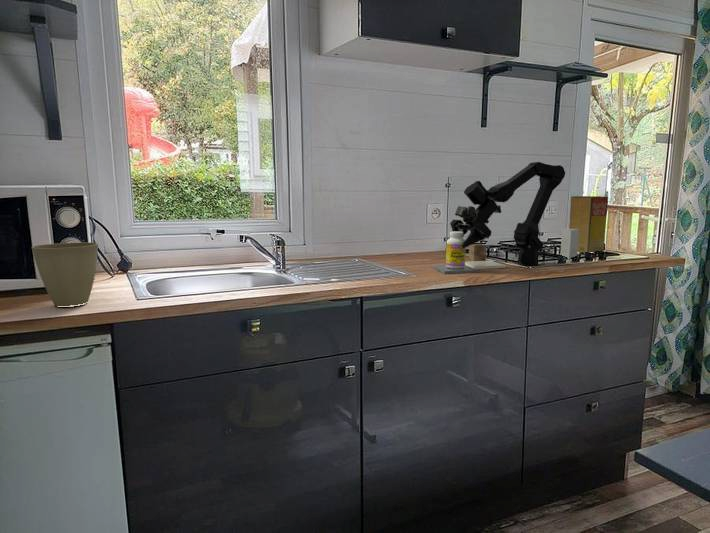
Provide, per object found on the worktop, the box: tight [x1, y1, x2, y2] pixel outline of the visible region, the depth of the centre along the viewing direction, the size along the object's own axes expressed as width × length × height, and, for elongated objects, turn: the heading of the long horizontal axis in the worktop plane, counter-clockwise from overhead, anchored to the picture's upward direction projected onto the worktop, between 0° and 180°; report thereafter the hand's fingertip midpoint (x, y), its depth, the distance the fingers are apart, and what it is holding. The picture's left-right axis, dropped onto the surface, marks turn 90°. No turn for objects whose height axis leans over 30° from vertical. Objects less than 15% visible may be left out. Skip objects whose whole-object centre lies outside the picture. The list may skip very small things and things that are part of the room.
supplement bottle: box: [445, 231, 466, 269], centre depth 175 cm, size 7×7×13 cm
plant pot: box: [31, 242, 99, 306], centre depth 128 cm, size 15×15×16 cm
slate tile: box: [432, 264, 478, 275], centre depth 176 cm, size 12×12×1 cm
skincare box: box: [559, 228, 579, 260], centre depth 201 cm, size 6×4×12 cm
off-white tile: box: [465, 260, 506, 270], centre depth 185 cm, size 12×12×1 cm
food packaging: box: [568, 195, 609, 253], centre depth 218 cm, size 13×9×25 cm
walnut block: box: [468, 243, 487, 261], centre depth 195 cm, size 5×5×7 cm
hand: (455, 245), depth 175 cm, fingers open, 9 cm apart
